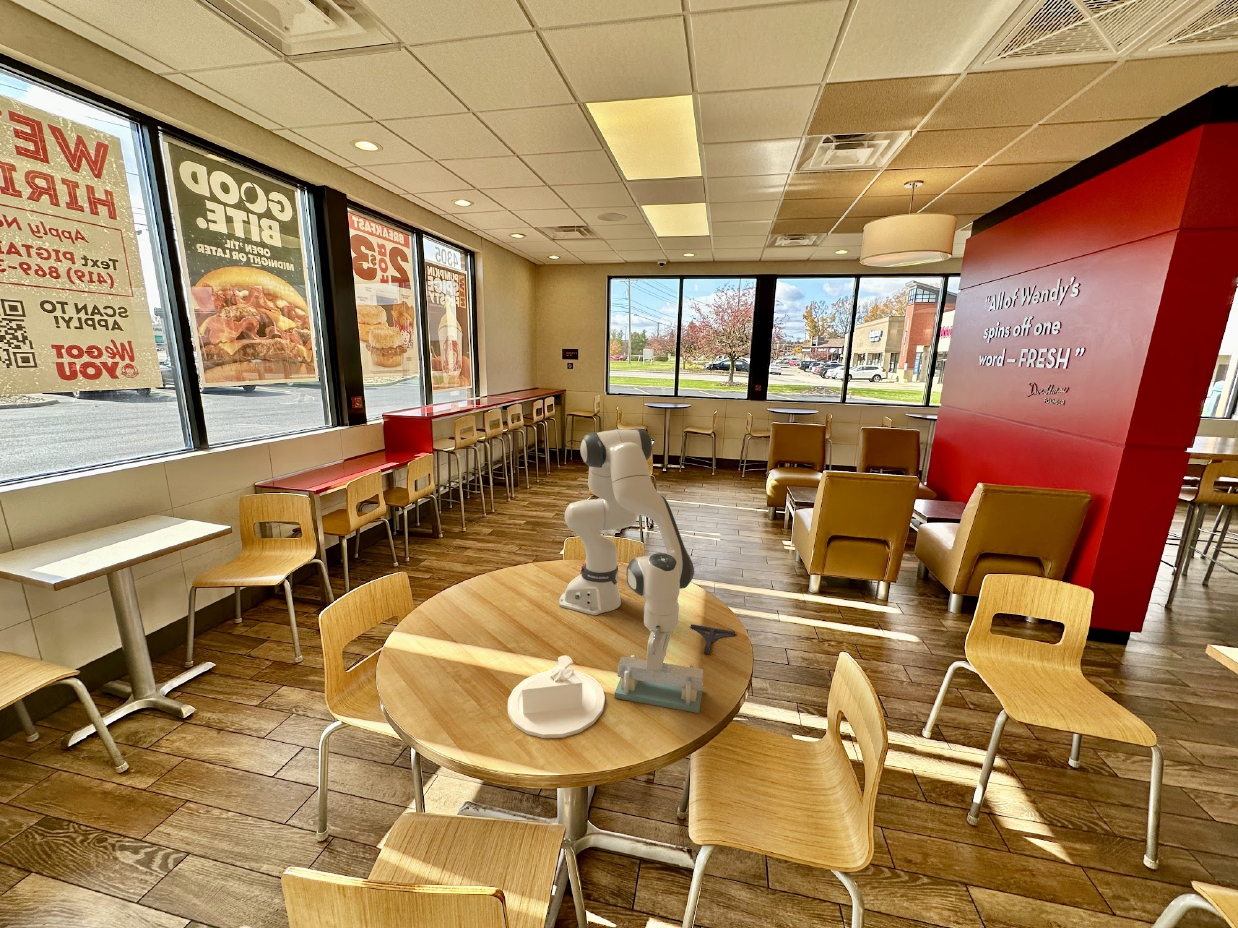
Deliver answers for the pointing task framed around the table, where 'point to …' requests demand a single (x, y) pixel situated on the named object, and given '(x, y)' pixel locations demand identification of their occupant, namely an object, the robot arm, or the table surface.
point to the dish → (556, 702)
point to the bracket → (711, 635)
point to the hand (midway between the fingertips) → (659, 665)
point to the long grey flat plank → (661, 673)
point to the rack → (659, 693)
